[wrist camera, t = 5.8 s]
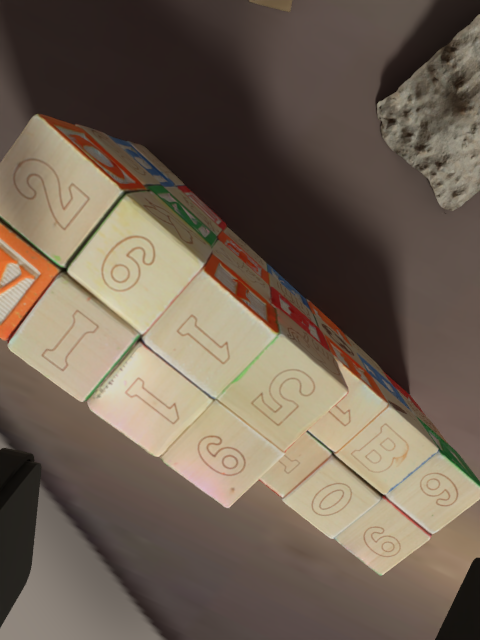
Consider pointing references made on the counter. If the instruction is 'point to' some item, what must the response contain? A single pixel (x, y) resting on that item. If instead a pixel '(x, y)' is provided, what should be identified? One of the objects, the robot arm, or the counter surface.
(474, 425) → the counter surface
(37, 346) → the stack of blocks
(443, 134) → the stone fragment
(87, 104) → the counter surface
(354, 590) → the counter surface
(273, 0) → the door frame
